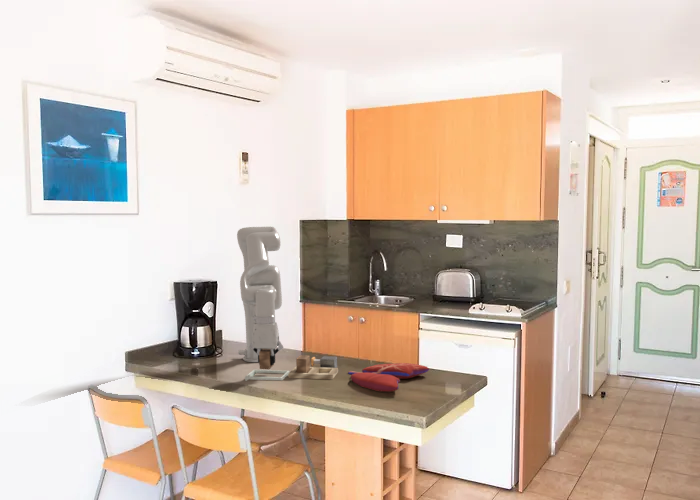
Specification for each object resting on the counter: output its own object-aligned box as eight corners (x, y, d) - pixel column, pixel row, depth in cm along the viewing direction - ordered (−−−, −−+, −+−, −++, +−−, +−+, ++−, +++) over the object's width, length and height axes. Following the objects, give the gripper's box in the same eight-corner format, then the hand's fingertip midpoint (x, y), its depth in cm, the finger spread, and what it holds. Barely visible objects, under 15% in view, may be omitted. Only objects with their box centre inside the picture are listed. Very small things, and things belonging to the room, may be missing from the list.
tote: (245, 382, 240) (244, 376, 239) (254, 375, 250) (253, 369, 249) (282, 383, 237) (282, 377, 237) (289, 376, 247) (289, 370, 247)
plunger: (311, 366, 252) (311, 359, 252) (313, 363, 256) (313, 356, 255) (322, 366, 251) (322, 359, 251) (324, 364, 255) (324, 357, 255)
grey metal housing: (320, 372, 251) (320, 359, 250) (323, 369, 256) (322, 356, 255) (334, 372, 250) (334, 359, 249) (337, 369, 255) (336, 356, 254)
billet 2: (296, 376, 242) (296, 358, 241) (300, 372, 248) (300, 355, 247) (306, 376, 241) (305, 359, 241) (310, 372, 247) (309, 355, 246)
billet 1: (259, 368, 241) (259, 351, 241) (264, 364, 247) (264, 347, 246) (269, 369, 241) (268, 352, 240) (273, 364, 246) (273, 348, 246)
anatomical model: (431, 381, 242) (365, 375, 258) (430, 363, 242) (365, 358, 258) (396, 395, 216) (326, 388, 232) (396, 375, 216) (326, 369, 232)
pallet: (288, 380, 240) (288, 373, 240) (295, 373, 251) (295, 366, 251) (332, 382, 237) (332, 375, 236) (338, 374, 247) (338, 367, 247)
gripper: (242, 321, 240) (243, 366, 242) (283, 322, 237) (284, 368, 239) (248, 317, 247) (250, 360, 249) (288, 318, 244) (289, 362, 246)
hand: (266, 363), depth 244 cm, fingers closed on billet 1, 4 cm apart
